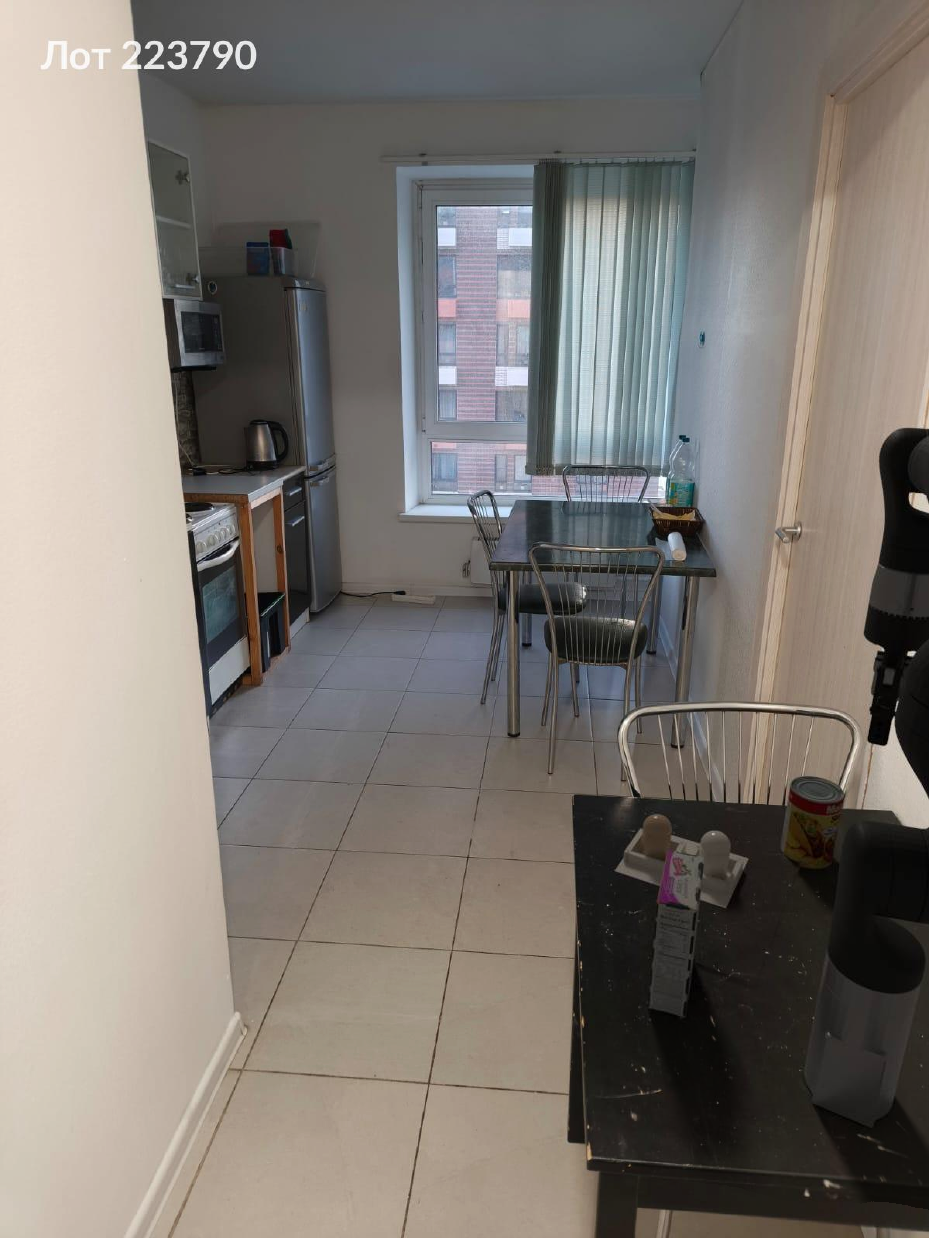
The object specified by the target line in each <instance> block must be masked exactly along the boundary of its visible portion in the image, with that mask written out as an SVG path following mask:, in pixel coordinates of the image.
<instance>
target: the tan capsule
mask: <svg viewBox="0 0 929 1238" xmlns="http://www.w3.org/2000/svg"><path fill="white" fill-rule="evenodd" d="M642 825H643V826H642V829H643V832H642V843H641V854H642V855H645V856H648V857H651V858H655V859H658V860H661V861H664V862H665V859H666V854H667V851H668V850H669V851H670V842H671V835H672V831H673V830H672V829H673V828H672V823H671V821H670V820H669V819H668V817H666V816H665V815H662V814H659V813H654V814H651V815H649V816H648V817H646V819H645V820H644V822H643V824H642Z"/></svg>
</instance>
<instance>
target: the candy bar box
mask: <svg viewBox="0 0 929 1238" xmlns="http://www.w3.org/2000/svg"><path fill="white" fill-rule="evenodd" d="M703 868H704V857H701V856H696V855H690V854H686V853H679V852H677V851H669V850H668V851H667V854H666V859H665V865H664V870H663V875H662V880H661V885H660V886H659V890H658V895H657V900H656V911H655V922H654V932H653V934H654V935H653V945H652V958H651V959H652V960H651V967H650V969H651V970H650V979H649V990H648V1001H647V1008H648V1009H650V1010H652V1009H654V1010H653V1011H655V1010H656V1011H655V1012H659V1011H660V1013H665V1014H668V1015H669V1014H670V1015H673V1016H677V1017H680V1018H684V1019H685V1018H686V1016H687V1009H688V1003H689V996H690V989H691V984H692V983H691V982H692V975H693V968H694V967H693V966H694V957H695V946H696V937H697V932H698V931H697V929H698V920H699V911H700V904H701V900H700V896H701V887H702V878H703Z"/></svg>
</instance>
